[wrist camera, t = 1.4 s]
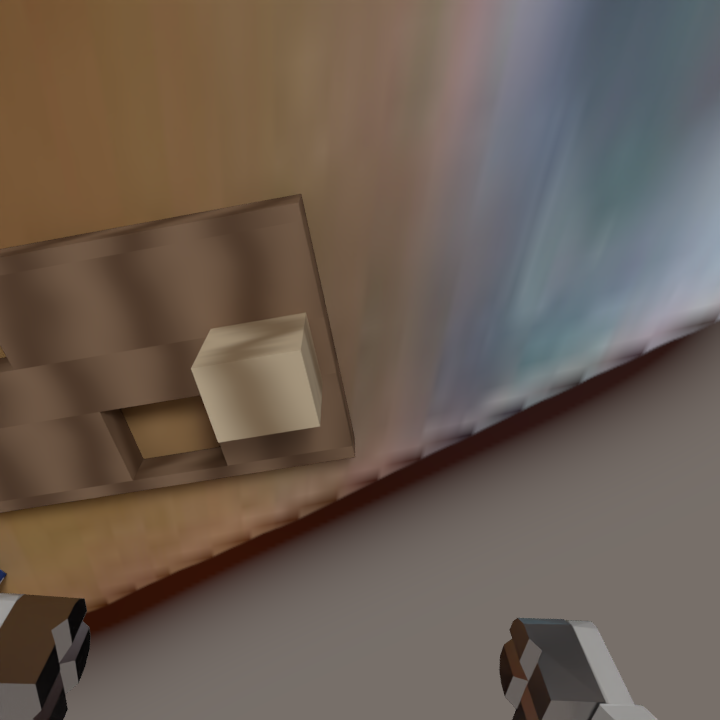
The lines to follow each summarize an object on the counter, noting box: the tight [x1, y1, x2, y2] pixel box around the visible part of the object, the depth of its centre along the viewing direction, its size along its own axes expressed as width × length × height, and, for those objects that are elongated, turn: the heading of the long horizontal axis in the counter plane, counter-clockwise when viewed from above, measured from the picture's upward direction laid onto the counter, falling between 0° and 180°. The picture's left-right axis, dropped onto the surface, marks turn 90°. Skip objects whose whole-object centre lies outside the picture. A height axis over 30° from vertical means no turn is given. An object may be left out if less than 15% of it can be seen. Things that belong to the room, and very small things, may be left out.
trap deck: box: [0, 194, 355, 513], centre depth 35 cm, size 32×18×5 cm, turn 100°
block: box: [191, 313, 323, 443], centre depth 32 cm, size 6×5×5 cm
